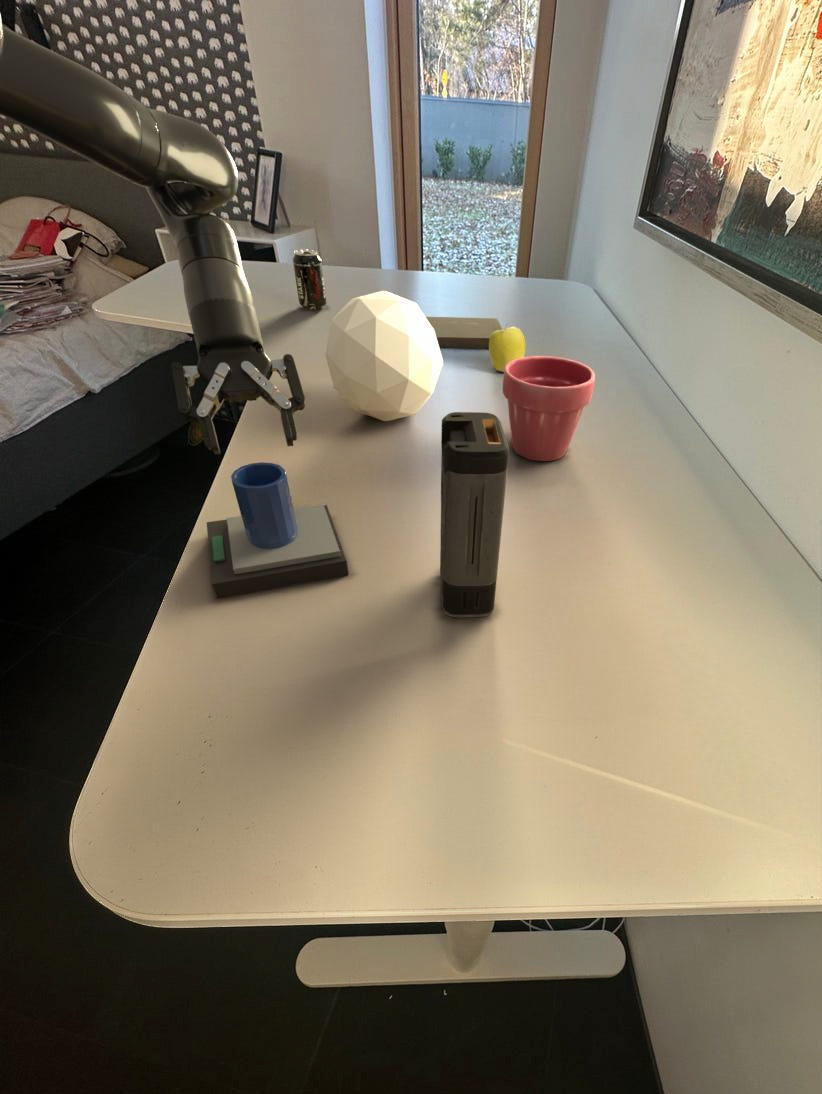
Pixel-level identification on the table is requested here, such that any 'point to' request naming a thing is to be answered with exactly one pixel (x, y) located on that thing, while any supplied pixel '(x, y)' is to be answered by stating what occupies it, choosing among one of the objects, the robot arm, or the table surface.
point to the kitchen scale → (274, 555)
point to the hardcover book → (464, 331)
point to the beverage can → (309, 279)
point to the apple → (506, 347)
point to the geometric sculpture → (383, 356)
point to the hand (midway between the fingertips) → (254, 447)
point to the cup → (265, 504)
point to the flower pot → (545, 403)
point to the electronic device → (471, 511)
